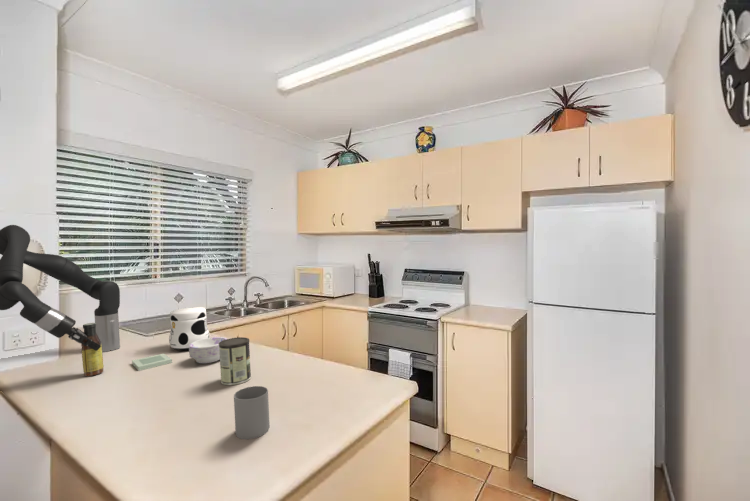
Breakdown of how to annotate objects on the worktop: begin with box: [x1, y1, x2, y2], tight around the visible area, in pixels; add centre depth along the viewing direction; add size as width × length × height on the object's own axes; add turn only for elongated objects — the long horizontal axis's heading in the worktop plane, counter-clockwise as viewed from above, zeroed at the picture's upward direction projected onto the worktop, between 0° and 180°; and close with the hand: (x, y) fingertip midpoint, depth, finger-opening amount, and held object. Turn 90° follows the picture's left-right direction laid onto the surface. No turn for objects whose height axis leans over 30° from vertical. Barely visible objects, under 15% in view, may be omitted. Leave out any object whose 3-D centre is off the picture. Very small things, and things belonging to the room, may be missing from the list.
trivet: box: [131, 353, 173, 372], centre depth 150 cm, size 12×12×2 cm
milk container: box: [168, 306, 210, 351], centre depth 173 cm, size 17×17×18 cm
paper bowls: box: [188, 336, 228, 364], centre depth 152 cm, size 15×15×8 cm
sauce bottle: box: [80, 322, 105, 377], centre depth 139 cm, size 6×6×20 cm
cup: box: [233, 385, 271, 440], centre depth 93 cm, size 8×8×10 cm
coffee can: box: [219, 337, 252, 386], centre depth 129 cm, size 10×10×14 cm
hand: (97, 346), depth 141 cm, fingers closed on sauce bottle, 6 cm apart
